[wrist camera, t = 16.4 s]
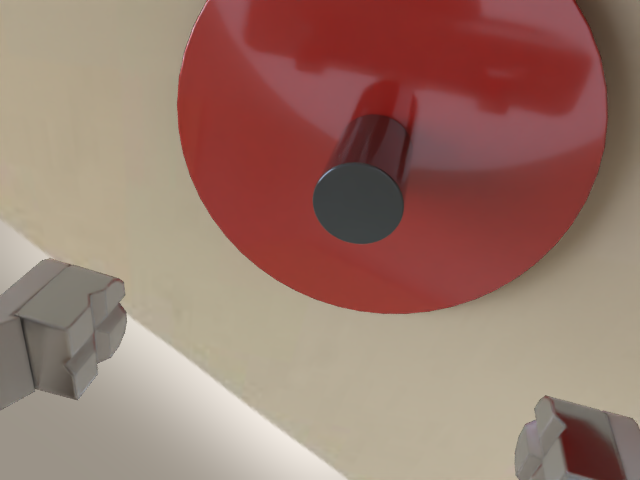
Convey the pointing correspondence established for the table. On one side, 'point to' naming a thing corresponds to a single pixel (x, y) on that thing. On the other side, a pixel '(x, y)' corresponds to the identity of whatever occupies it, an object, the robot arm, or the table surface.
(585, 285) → the table surface
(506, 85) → the lid
